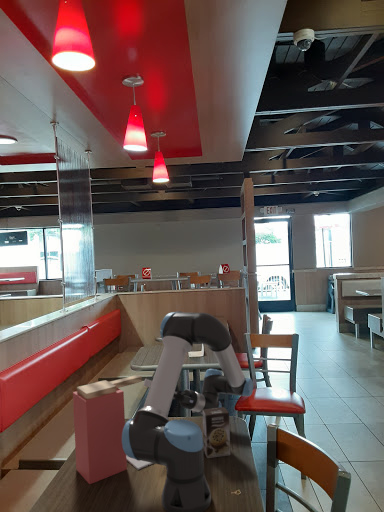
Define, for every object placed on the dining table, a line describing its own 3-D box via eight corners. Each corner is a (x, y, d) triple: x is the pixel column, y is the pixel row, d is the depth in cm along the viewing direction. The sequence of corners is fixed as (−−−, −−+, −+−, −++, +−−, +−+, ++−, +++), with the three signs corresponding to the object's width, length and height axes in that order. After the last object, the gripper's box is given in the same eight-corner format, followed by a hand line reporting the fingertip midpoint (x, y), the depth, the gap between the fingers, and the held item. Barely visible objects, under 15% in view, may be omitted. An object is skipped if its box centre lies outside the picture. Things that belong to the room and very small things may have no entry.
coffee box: (207, 458, 147) (205, 415, 147) (203, 450, 153) (201, 408, 153) (231, 455, 149) (229, 412, 149) (226, 447, 155) (224, 406, 155)
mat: (174, 429, 173) (174, 427, 173) (199, 444, 158) (199, 442, 158) (115, 450, 156) (115, 449, 156) (138, 469, 142) (137, 468, 142)
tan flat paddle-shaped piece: (134, 378, 156) (133, 373, 156) (145, 383, 149) (145, 378, 149) (77, 392, 142) (76, 387, 142) (86, 399, 135) (86, 393, 135)
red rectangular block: (112, 456, 152) (108, 383, 151) (126, 469, 142) (123, 391, 142) (76, 469, 143) (72, 392, 143) (89, 484, 134) (85, 401, 133)
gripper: (207, 418, 156) (167, 405, 145) (171, 400, 176) (134, 387, 165) (214, 400, 159) (174, 384, 147) (178, 384, 179) (141, 369, 167)
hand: (153, 386), depth 156 cm, fingers open, 13 cm apart
